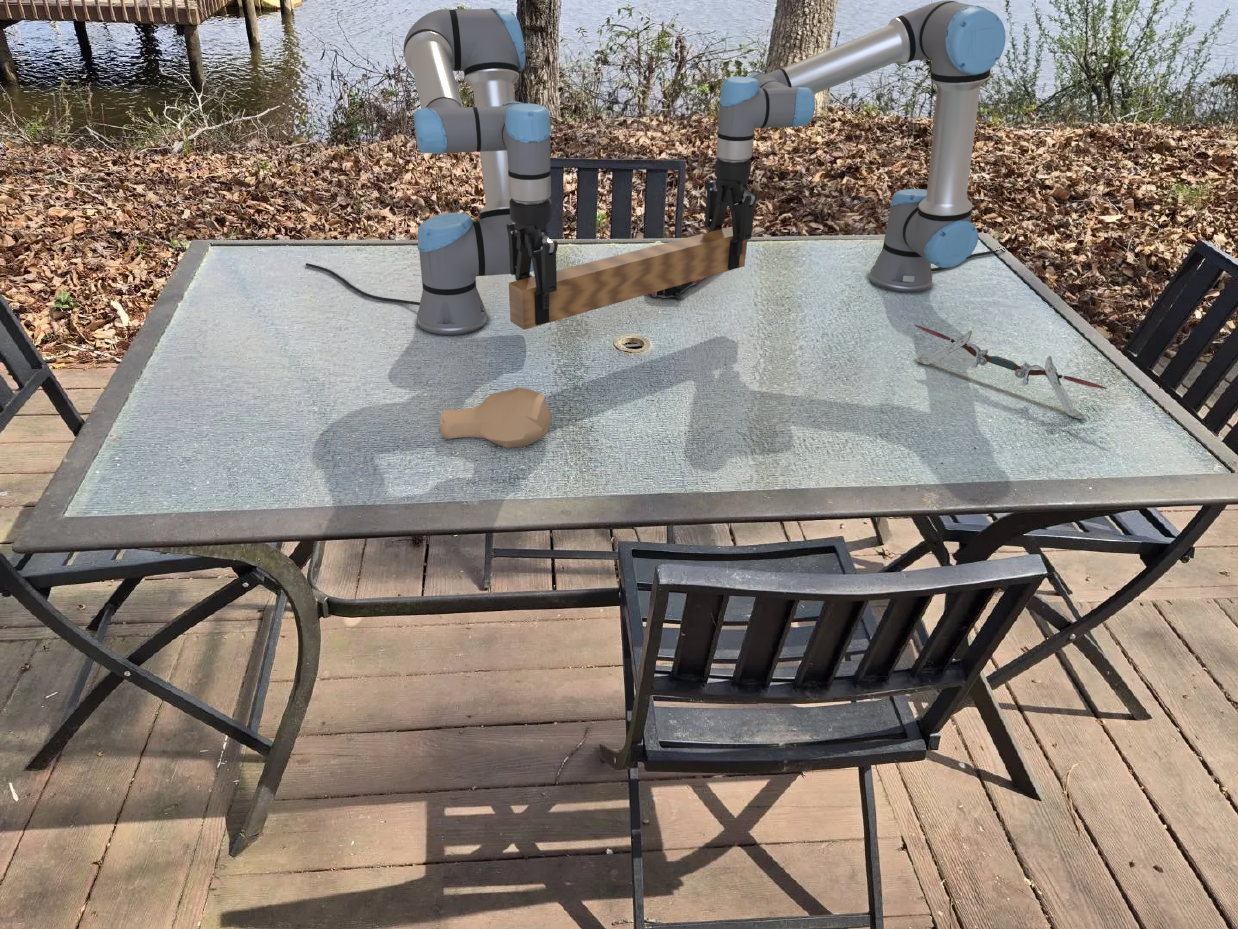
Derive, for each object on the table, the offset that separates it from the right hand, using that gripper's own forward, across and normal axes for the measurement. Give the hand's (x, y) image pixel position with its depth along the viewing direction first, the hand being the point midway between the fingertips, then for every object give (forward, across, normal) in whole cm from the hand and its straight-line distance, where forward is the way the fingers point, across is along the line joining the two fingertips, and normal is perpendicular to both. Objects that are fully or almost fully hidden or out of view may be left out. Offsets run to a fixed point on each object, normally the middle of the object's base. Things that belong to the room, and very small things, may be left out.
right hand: (724, 264), depth 196 cm
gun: (+13, +26, -7) cm, 30 cm away
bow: (+13, -58, -21) cm, 63 cm away
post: (0, 0, +25) cm, 25 cm away
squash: (+12, -15, +70) cm, 72 cm away
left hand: (-1, 0, +51) cm, 51 cm away
